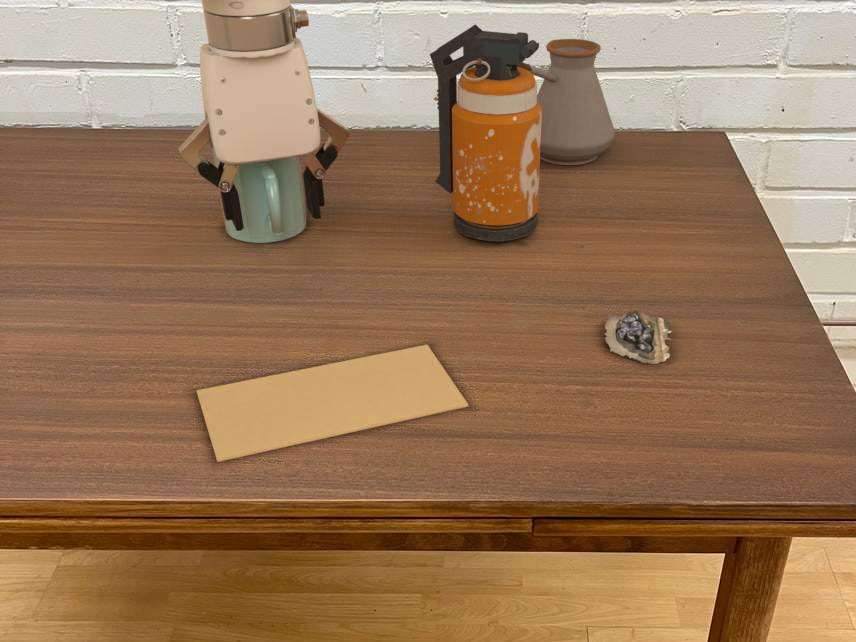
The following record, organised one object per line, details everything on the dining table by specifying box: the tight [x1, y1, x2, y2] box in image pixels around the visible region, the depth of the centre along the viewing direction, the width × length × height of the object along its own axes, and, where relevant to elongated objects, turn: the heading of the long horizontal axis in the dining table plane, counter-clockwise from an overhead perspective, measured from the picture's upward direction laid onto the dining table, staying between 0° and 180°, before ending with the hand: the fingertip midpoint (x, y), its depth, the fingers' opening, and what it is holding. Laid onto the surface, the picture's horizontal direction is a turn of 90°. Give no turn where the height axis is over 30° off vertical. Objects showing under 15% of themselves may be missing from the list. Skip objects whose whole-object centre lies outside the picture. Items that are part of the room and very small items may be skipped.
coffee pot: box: [471, 38, 616, 166], centre depth 113 cm, size 21×12×15 cm, turn 130°
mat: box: [196, 344, 469, 463], centre depth 77 cm, size 20×10×1 cm, turn 112°
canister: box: [429, 24, 542, 243], centre depth 97 cm, size 9×11×20 cm
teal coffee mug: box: [210, 147, 307, 244], centre depth 99 cm, size 12×9×10 cm
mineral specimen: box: [603, 310, 673, 365], centre depth 84 cm, size 7×8×2 cm
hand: (276, 218), depth 96 cm, fingers open, 7 cm apart
